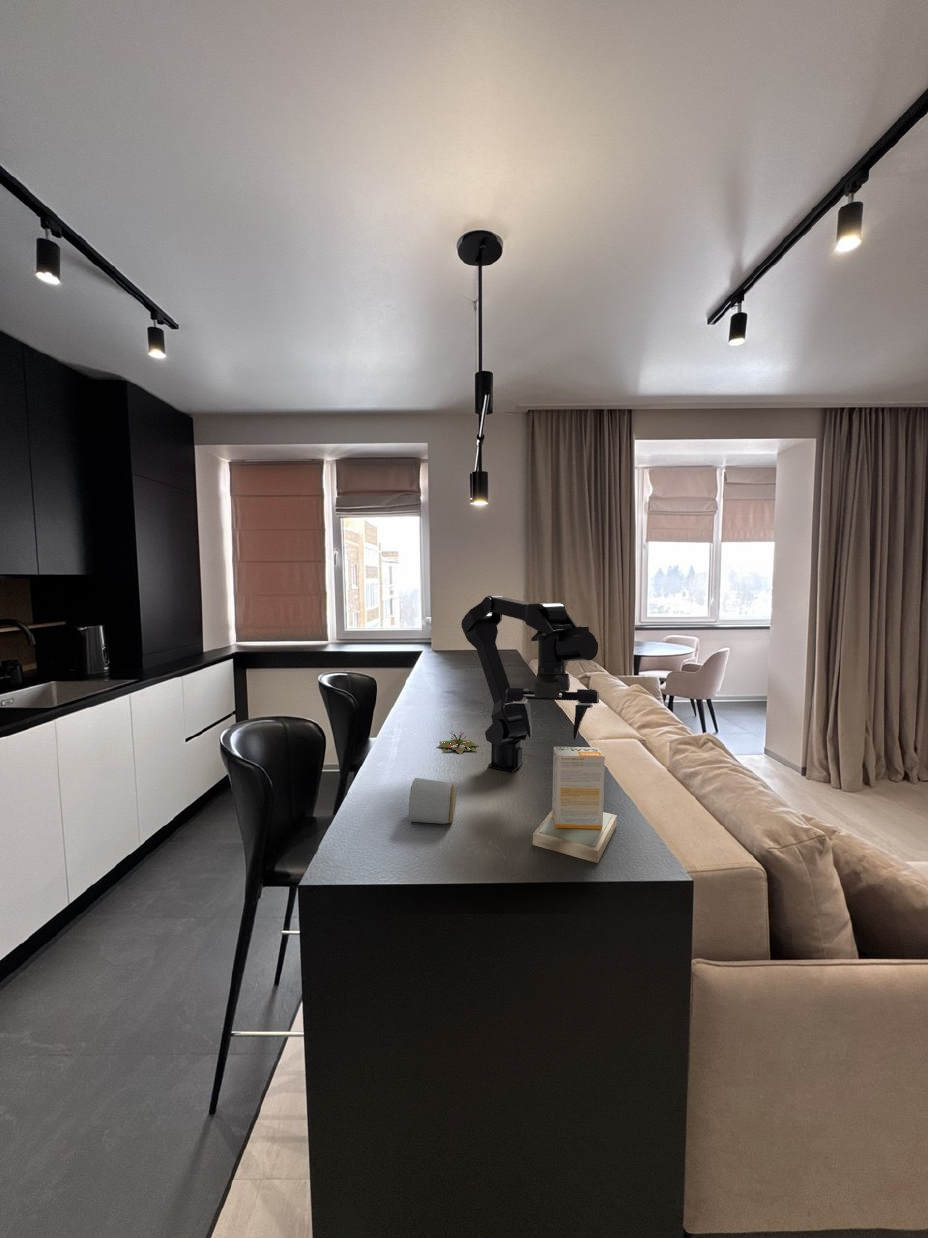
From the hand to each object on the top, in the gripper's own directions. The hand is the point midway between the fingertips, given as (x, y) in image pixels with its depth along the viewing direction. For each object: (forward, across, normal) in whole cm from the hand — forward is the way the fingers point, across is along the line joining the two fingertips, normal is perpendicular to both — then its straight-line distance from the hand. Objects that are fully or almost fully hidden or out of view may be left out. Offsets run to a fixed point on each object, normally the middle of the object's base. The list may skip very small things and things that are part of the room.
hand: (552, 738), depth 105 cm
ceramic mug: (+14, -20, -15) cm, 29 cm away
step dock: (+15, +6, -12) cm, 20 cm away
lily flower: (+6, -28, +23) cm, 37 cm away
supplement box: (+14, +6, -12) cm, 19 cm away
